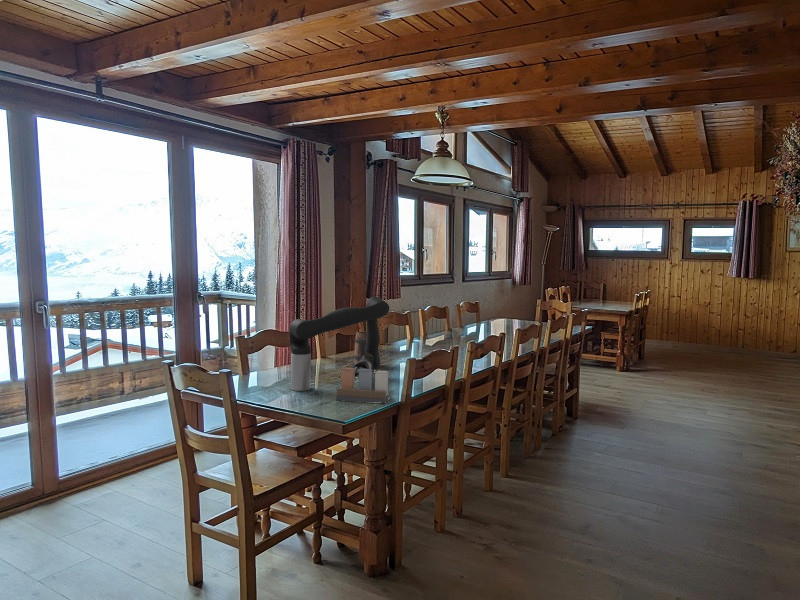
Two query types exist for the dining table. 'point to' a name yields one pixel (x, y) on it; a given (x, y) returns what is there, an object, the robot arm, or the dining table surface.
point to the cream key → (381, 381)
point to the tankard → (360, 347)
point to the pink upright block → (348, 378)
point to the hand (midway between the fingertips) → (353, 375)
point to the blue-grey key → (365, 379)
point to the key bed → (347, 398)
